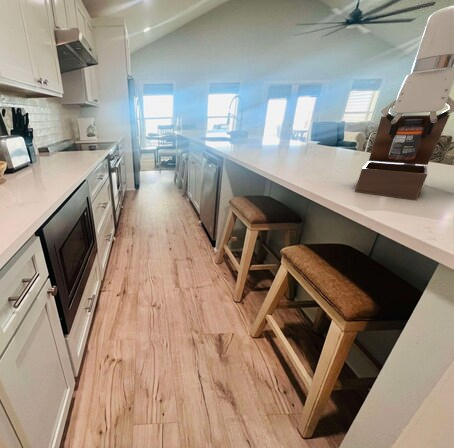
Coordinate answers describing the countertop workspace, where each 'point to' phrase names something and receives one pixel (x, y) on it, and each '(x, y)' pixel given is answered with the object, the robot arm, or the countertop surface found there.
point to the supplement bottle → (407, 140)
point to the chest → (392, 179)
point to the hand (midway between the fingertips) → (407, 137)
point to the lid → (424, 150)
